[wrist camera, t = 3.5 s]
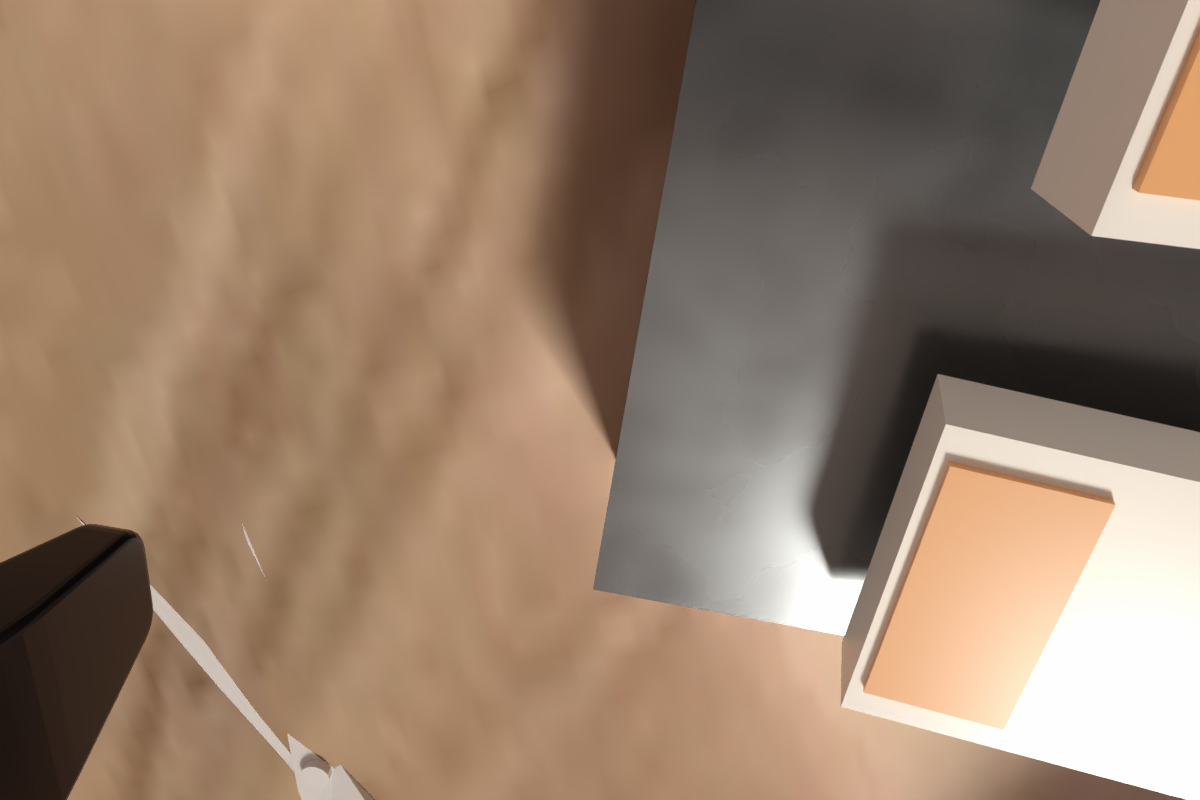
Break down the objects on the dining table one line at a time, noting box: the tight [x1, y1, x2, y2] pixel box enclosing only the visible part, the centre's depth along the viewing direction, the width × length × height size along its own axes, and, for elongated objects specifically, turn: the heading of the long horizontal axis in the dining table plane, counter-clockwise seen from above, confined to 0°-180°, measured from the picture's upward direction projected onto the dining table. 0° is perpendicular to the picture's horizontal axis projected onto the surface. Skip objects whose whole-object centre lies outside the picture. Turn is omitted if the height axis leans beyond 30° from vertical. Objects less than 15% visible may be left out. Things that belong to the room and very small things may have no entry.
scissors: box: [79, 519, 374, 800], centre depth 27 cm, size 11×1×20 cm
